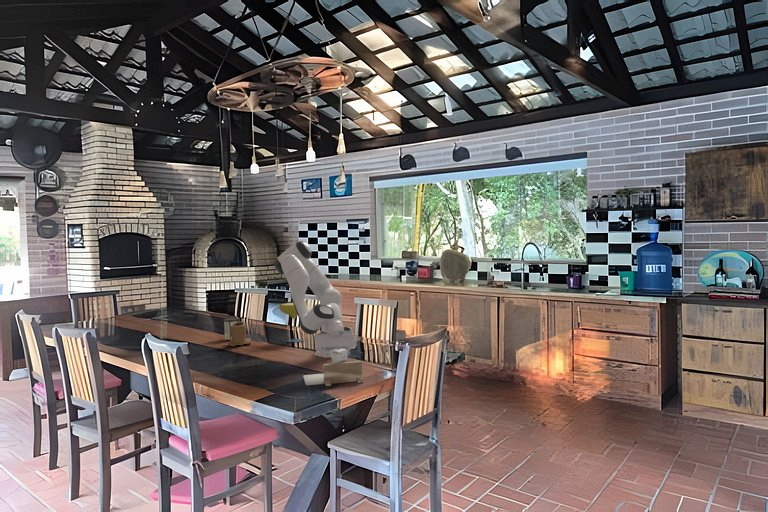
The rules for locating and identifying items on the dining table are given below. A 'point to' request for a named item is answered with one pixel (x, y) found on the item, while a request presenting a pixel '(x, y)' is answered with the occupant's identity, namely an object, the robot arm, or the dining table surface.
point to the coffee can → (227, 325)
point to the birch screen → (342, 372)
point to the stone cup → (238, 334)
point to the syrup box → (338, 355)
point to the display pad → (314, 379)
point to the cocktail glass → (290, 310)
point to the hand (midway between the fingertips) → (336, 356)
